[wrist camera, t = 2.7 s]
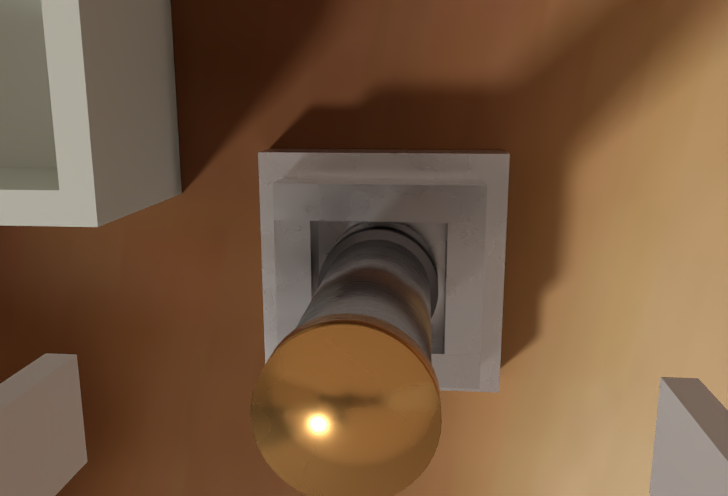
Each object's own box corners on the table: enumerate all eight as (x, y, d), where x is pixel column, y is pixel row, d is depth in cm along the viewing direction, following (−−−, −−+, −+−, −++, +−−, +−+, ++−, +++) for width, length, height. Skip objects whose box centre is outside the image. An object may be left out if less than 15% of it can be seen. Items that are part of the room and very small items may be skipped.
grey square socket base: (275, 366, 32) (254, 404, 28) (269, 148, 30) (245, 156, 26) (494, 373, 31) (504, 413, 27) (504, 150, 29) (516, 158, 25)
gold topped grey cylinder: (326, 326, 29) (250, 503, 16) (325, 219, 28) (242, 319, 15) (436, 329, 29) (443, 513, 16) (438, 220, 28) (448, 325, 15)
